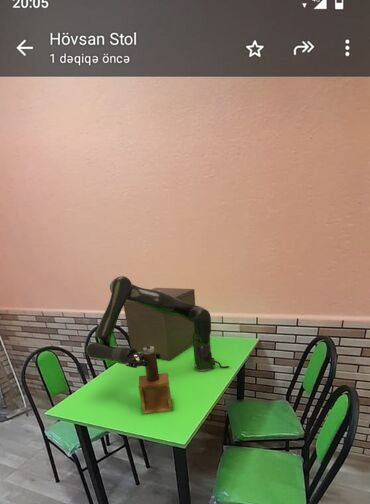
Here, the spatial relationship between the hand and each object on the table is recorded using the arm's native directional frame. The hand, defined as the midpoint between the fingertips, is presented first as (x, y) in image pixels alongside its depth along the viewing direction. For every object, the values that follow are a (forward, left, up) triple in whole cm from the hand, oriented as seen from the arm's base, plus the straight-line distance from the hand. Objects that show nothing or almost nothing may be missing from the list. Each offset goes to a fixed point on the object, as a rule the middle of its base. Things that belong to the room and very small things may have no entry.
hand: (154, 360), depth 141 cm
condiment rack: (+2, -1, -23) cm, 23 cm away
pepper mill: (+2, -1, -9) cm, 9 cm away
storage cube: (-4, -76, -23) cm, 80 cm away
